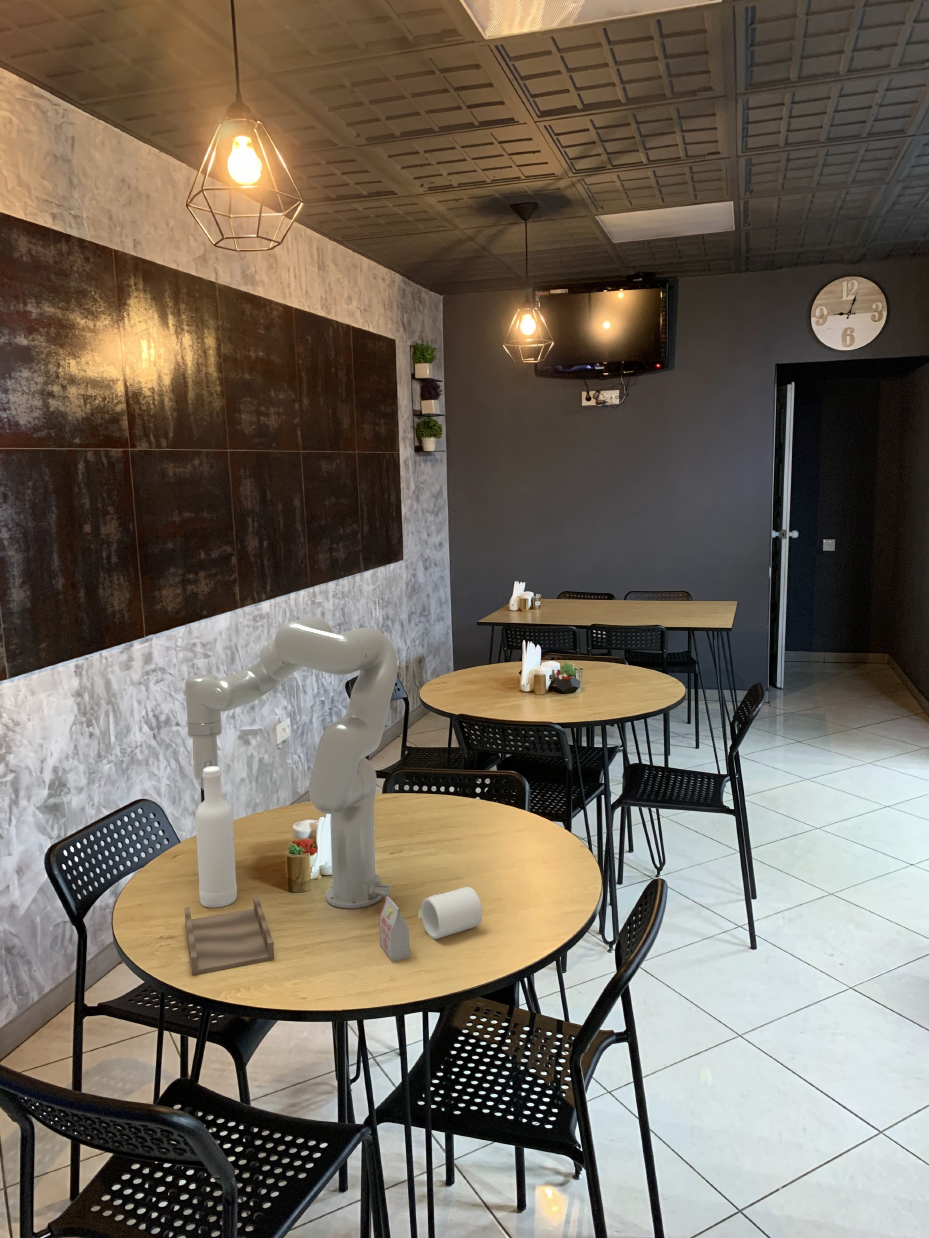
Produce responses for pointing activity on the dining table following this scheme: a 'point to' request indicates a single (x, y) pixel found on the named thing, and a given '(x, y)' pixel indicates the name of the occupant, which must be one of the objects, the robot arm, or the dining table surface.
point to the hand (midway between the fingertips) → (208, 804)
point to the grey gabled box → (393, 932)
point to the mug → (451, 912)
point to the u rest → (228, 939)
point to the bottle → (215, 844)
